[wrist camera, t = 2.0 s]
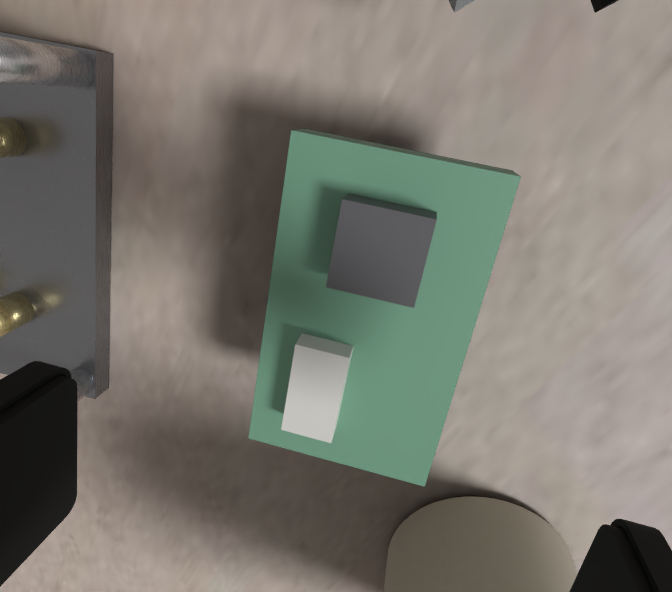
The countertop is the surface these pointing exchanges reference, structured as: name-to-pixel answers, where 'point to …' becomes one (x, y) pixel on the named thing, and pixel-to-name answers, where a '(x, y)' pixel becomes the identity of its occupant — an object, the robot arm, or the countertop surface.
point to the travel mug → (477, 550)
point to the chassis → (55, 208)
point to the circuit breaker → (598, 3)
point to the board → (373, 299)
